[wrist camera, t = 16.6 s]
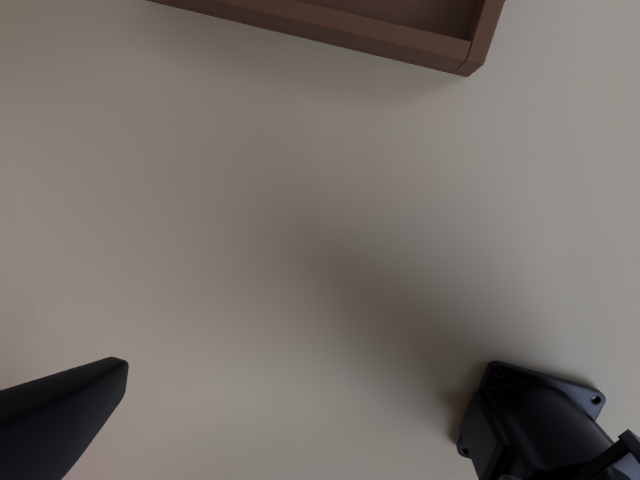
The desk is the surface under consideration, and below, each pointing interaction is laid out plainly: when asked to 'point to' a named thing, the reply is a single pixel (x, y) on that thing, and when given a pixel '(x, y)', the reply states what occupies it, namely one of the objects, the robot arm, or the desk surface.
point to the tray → (375, 26)
